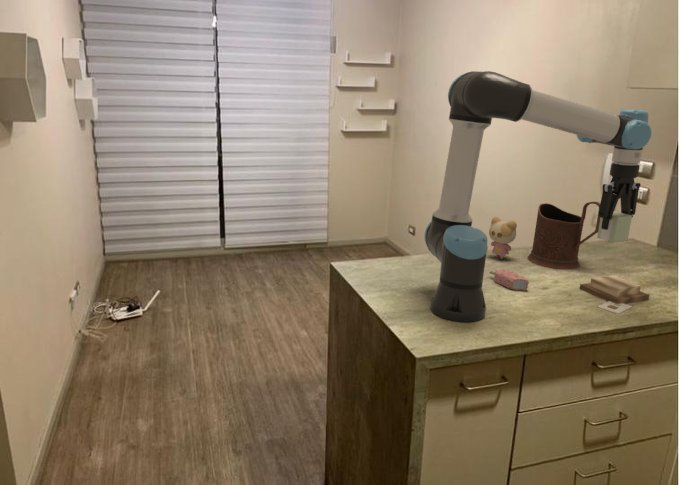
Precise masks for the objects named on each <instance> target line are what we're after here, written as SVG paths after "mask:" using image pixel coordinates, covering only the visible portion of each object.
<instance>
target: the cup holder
mask: <svg viewBox="0 0 680 485" xmlns="http://www.w3.org/2000/svg"><path fill="white" fill-rule="evenodd" d="M591 204H592V205H596V206H597V207H598V208H599V207H600V202H598V201H588V202H586V203H585V204H584V205H583V207H582V211H581V212H582V213H581V216H580V215H577V214H574V213H571V212H567V211H565V210H563V209H561V208H560V207H557V206H555V205H554V204H551V203H547V202H546V203H540V204H539V206H538V209H537V215H536V216H537V217H536V222H535V229H534V235H533V236H534V237H533V244H532V249H531V251H530V254H529V255H528V256H527V257H526V258H527V260H528V261H529V262H530V263H531V264H534V265H536V266H540V267H543V268H548V269H553V270H562V271H568V270H576V269H578V268H580V267H581V264H580V262H579V252H580V245H582V244H584V243H585V242H586V241H588V240H589V239H590V238H592V237H593V236H595V235H596V234H598V229H599V223H600V216H598V215H597V219H596V225H595V229H594V231H593V232H592V233H590V234H589V235H587V236H586V237H585V238H583V239H582V240H581V238H582V234H583V229H584V223H585V219H586V214H587V210H588V209H587V208H588V206H589V205H591Z"/></svg>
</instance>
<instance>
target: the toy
mask: <svg viewBox="0 0 680 485" xmlns="http://www.w3.org/2000/svg"><path fill="white" fill-rule="evenodd" d="M517 227H518V226H517V222H516V221H515V220H510V221H508V222H507V221H503V220H501V218H499V217H497V216H494V217H493V218H491V222H490V226H489V231H488V235H489V238H490V239H491V240H492V242H490V246H491V247H493V248H492V251H491V253H493V254H494V255H495V257H494V258H496V259H498V258H499V259H500V260H504V259H505V255H509V253H510V252H511V251H512V247H511V245H510V244H511V243H512V242H513V241H515V239H516V237H517Z"/></svg>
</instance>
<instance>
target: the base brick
mask: <svg viewBox="0 0 680 485" xmlns="http://www.w3.org/2000/svg"><path fill="white" fill-rule="evenodd" d="M641 287H642V285H640V284H638V283H636V282H633V281H630V280H627V279H624V278H622V277H619V276H618V275H615V274H612V275H605V276H598V277H591V279H590V282H587V283H581V284H579V289H580V290H582V291H584V292H586V293H588V294H591V295H593V296H595V297H597V298H600V299H602V300H604V301H606V302H608V301H611V302H613V303H615V304H621V303H624V304H631V303H636V302H640V301H641V302H642V301H647V300H650V294H649V293H646V292H643V291H641V289H642V288H641Z"/></svg>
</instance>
